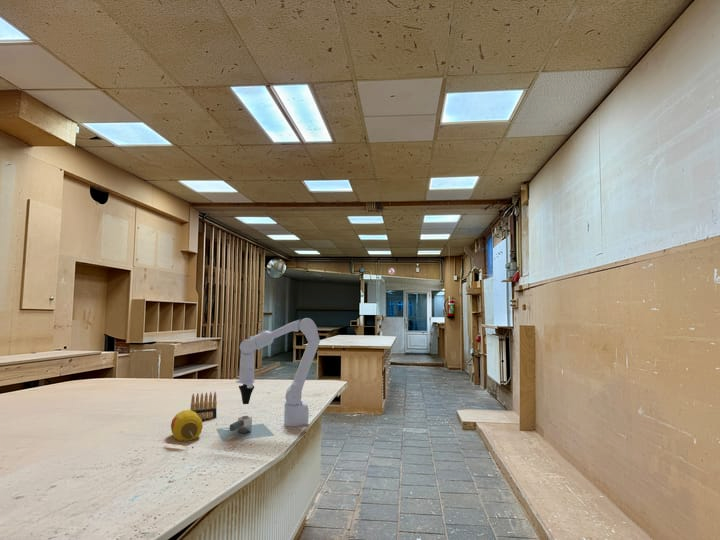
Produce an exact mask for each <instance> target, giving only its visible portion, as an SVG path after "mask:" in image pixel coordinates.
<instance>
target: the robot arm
mask: <svg viewBox="0 0 720 540" xmlns="http://www.w3.org/2000/svg"><path fill="white" fill-rule="evenodd" d="M299 330H300V332H301V333H302V334H303V335H304V336H305V338H306V341H307V345H306V347H305V350H304V352H303V355H302V357H301V360H300V363H299V364H298V365H299V366H298V368H297V370H296V373H295V376H294V378H293V381H292V383H291V384H290V386H289V387H288V388H287V390H286V392H285V402H284V415H283V417H284V418H283V425H284V426H287V427H297V426H302V425H309V414H310V413H309V412H310V411H309V405H308V403H306V402H303V401H302V392H303V388H304V385H305V382H306V380H307V376H308V375H309V371H310V368H311V366H312V364H313V360H314V359H315V356H316V353H317V351H318V348H319V345H320V341H321V340H320V335H319V332H318V327H317V325H316V323H315V322H314V320H313V319H312V318H309V317H305V318H302V319H297V320H294V321H292V322H289V323H287V324H284V325H283V326H281V327H279V328H276V329H274V330H272V331H270V330H261V331H260V333H258V334H255V335H254V336H252V335H250V336H249V338H248V339H244V340H242V341H241V342H240V345H239V350H240V358H239V376H238V378H239V379H237V380H235V383H237V384H242V385H238V388H239V392H240V394H241V401H242V404H243V405H249V404H250V401H251V396H252V393H253V391H254V389H255V386H254V383H255V363H256V362H255V351H256V350H260V349H262V348H264V347H266V346H269V345H271V344H273V343H274V340H275V339H277V338H280V337H281V336H283V335H286V334H289V333H290V332H299Z"/></svg>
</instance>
